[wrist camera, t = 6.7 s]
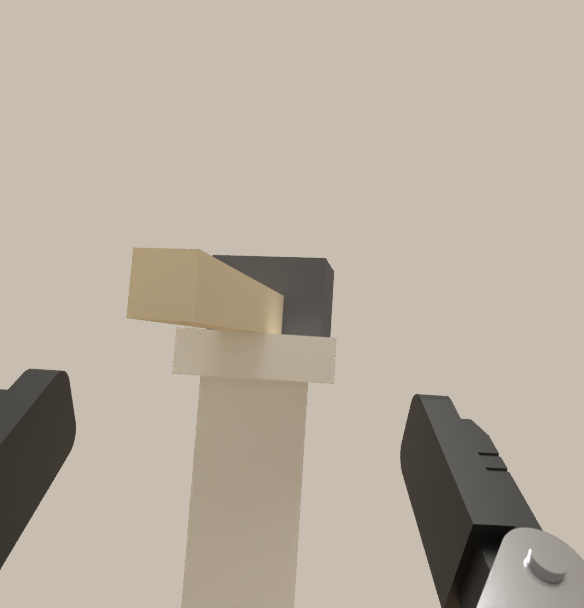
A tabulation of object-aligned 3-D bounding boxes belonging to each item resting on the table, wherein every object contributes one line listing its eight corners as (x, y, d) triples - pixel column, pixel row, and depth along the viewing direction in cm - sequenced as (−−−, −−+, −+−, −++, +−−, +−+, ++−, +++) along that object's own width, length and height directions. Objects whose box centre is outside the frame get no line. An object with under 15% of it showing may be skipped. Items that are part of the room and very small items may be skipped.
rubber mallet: (231, 333, 28) (236, 268, 28) (330, 340, 27) (334, 271, 27) (63, 314, 13) (78, 179, 14) (264, 326, 12) (275, 178, 13)
